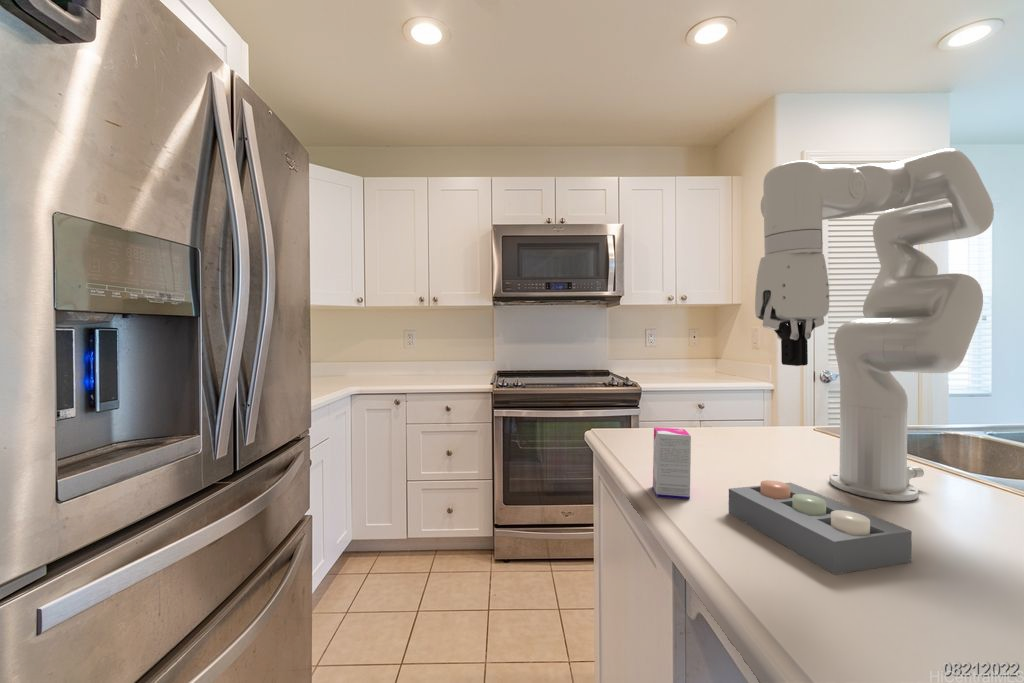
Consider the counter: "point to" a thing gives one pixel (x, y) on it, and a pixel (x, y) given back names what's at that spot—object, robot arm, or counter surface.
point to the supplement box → (671, 463)
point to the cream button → (850, 522)
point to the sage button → (809, 504)
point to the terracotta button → (775, 489)
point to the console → (821, 531)
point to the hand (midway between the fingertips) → (794, 364)
